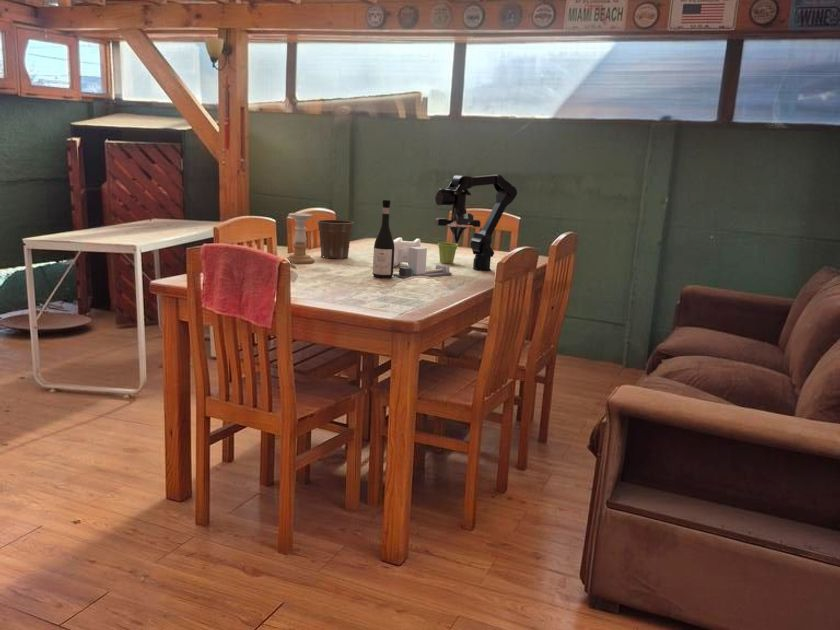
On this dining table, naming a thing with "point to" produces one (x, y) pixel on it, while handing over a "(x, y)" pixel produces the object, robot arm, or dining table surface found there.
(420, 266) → the open-bottomed white box
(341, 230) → the plant pot
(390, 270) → the wine bottle
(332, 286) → the dining table surface
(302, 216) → the candle holder
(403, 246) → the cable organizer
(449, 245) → the plant pot
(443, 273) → the cord comb board
